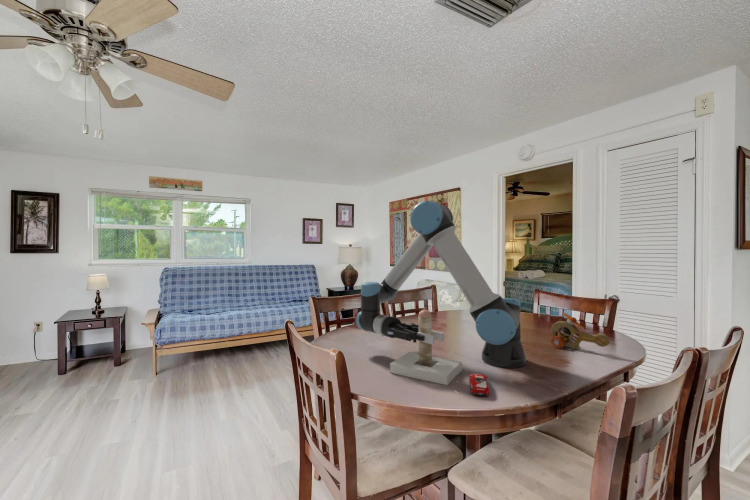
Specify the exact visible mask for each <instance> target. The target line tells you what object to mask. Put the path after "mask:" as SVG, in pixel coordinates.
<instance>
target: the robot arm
mask: <svg viewBox="0 0 750 500" xmlns="http://www.w3.org/2000/svg"><path fill="white" fill-rule="evenodd" d="M409 220H410V225H411V227H412V229H413V230H414V232H417V233H418V234H417V235H416V237H414V239H413V240H412V242H411V243H410V245H408V247H407V249H406V250H405V251H404V253H403V254H402V255H401V257H400V258H399V259H398V261H397V262H396V263H395V265H393V266H392V268H391V269H390V271H388V273H387V274H386V275H385V278H384V279H383V280H382V281H381V283H380V282H377V281H366V282H363V283H362V284H361V286H360V308H361V309H360V311H359V312H358V313H357V315H356V317H355V324H356V327H357V328H358V329H361V330H363V331H365V332H368V333H369V332H370V333H373V334H376V335H381V337H384V336H385V337H387V338H391V339H400V340H404V341H407V342H411V341H412V342H413V343H415V344H416V343H417V342H419V341H421V342H425V343H429V344H432V346H433V345H435V341H439V342H444V340H445V336H444V335H445V333H444V332H441V331H436V330H433V329H432V335H429V334H425V333H421V332H419V324H417V323H414V322H411V323H410V324H408V323H405V322H402V321H401V320H400V319H399V318H398V317H395V316H390V315H386V314H381V304H383V303H386V302H390V301H392V300H394V299H395V298H396V297H397V295H398V291H399V290H400V288H401V287H402V286H403V284H404V283H405V282H406V281H407V279H408V278H409V277H410V276H411V274H412V273H413V272H414V270H415V269H416V268H417V267H418V266H419V264H420V263H421V262H422V261H423V259H424V258H425V257H426V256H427V254H428V253H429V252H430V251H431V250H432V247H433V248H434V249H435V251H436V252H437V254H438V256H439V257H440V260H441V261H442V262H443V263H444V265H445V267H446V268H447V270H448V272H449V274H450V275H451V276H452V278H453V280H454V281H455V283H456V284H457V286H458V288H459V289H460V291H461V293H462V294H463V296H464V298H465V299H466V301H467V302H468V304H469V306H470V307H469V311H468V312H469V314H470V316H471V317H472V319H473V321H474V323H475V325H474V326H475V330H476V333H477V335H478V336H479V337H480V339H481V340H483V341H484V342H485V343H484V345H483V349H482V351H481V359H482V362H484V363H486V364H488V365H491V366H494V367H499V368H506V369H507V368H509V369H510V368H512V369H513V368H514V369H515V368H520V367H524V366H525V365H527V355H526V353H525V350H524V348H523V344H522V341H521V334H522V333H521V310H522V309H521V308H522V306H521V301H520V299H518V298H511V297H510V298H509V297H502V296H501V295H500V294H498V293H495V292H493V291H492V289H491V288H490V286H489V284H488V283H487V281H486V279H485V278H484V277H483V275H482V273H481V272H480V270H479V269H478V267H477V266H476V264H475V263H474V261H473V260H472V257H471V256H470V254H468V251H467V250H466V249H465V247H464V246H463V244H462V242H461V241H460V239H459V238H458V236H457V235H456V226H455V225H456V224H454V216H453V212H452V210H451V209H450V208H449V207H448V206H447V205H444V204H441V203H439V202H436V201H434V200H423V201H421V202H418V204H416V205H415V206H414V207H413V209H412V210H411V214H410V218H409Z"/></svg>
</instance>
